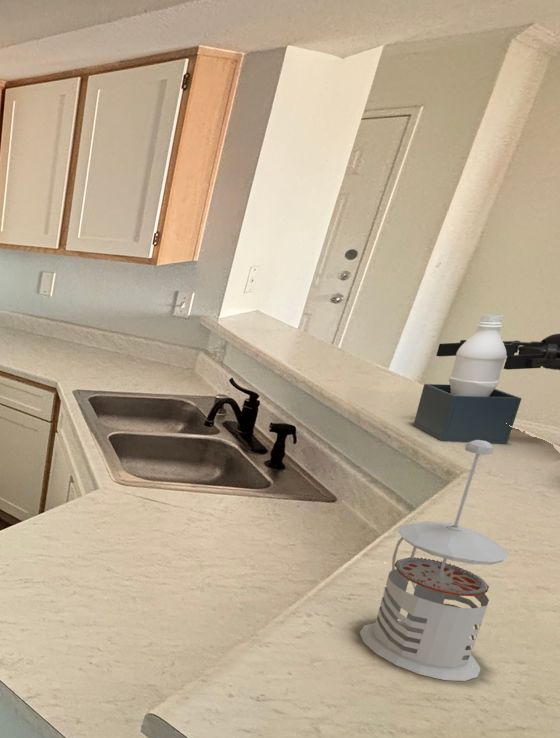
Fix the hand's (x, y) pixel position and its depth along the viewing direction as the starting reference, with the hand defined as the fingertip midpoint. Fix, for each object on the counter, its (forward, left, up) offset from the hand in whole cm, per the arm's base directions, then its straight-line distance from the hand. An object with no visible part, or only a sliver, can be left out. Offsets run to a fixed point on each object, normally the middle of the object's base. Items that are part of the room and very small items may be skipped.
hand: (471, 356), depth 122 cm
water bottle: (-2, -1, -17) cm, 17 cm away
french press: (+43, +83, -18) cm, 95 cm away
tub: (-2, -1, -17) cm, 18 cm away
